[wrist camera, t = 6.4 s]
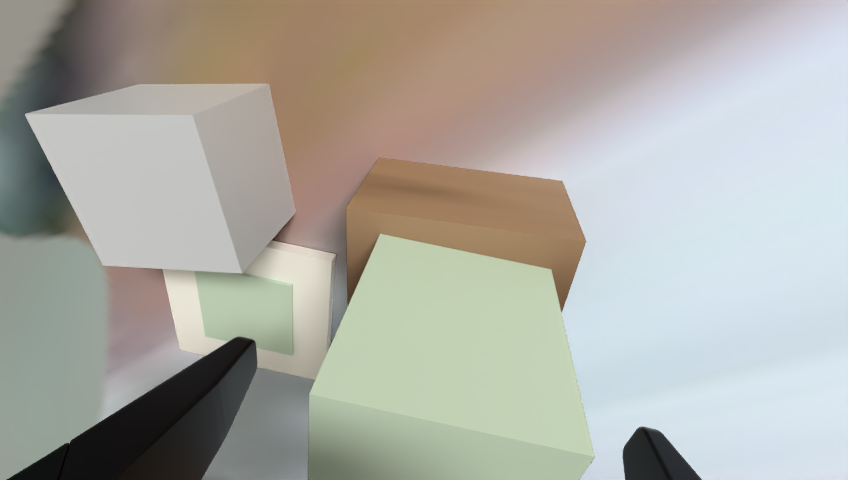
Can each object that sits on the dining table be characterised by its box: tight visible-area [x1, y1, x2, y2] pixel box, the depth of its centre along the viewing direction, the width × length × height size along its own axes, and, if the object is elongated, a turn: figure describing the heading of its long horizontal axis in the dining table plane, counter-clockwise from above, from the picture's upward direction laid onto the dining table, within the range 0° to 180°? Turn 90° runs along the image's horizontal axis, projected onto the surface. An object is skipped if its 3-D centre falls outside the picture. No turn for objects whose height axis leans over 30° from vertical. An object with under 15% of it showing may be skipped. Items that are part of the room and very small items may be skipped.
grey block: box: [25, 84, 296, 274], centre depth 13 cm, size 4×4×4 cm
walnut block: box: [346, 158, 586, 313], centre depth 13 cm, size 6×6×4 cm
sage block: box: [308, 234, 595, 480], centre depth 10 cm, size 4×4×5 cm
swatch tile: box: [163, 240, 336, 380], centre depth 17 cm, size 7×7×1 cm
